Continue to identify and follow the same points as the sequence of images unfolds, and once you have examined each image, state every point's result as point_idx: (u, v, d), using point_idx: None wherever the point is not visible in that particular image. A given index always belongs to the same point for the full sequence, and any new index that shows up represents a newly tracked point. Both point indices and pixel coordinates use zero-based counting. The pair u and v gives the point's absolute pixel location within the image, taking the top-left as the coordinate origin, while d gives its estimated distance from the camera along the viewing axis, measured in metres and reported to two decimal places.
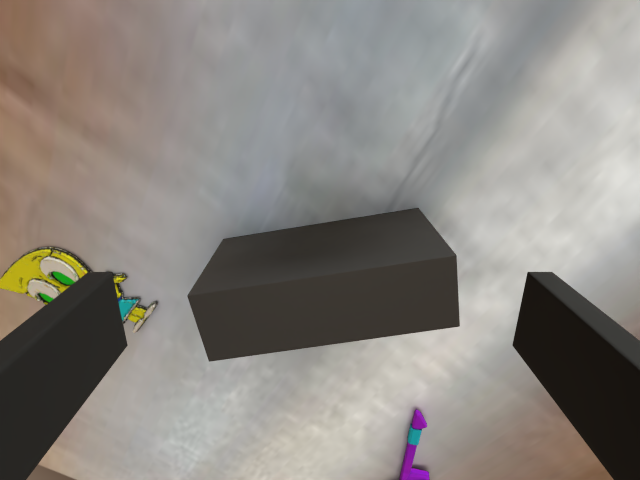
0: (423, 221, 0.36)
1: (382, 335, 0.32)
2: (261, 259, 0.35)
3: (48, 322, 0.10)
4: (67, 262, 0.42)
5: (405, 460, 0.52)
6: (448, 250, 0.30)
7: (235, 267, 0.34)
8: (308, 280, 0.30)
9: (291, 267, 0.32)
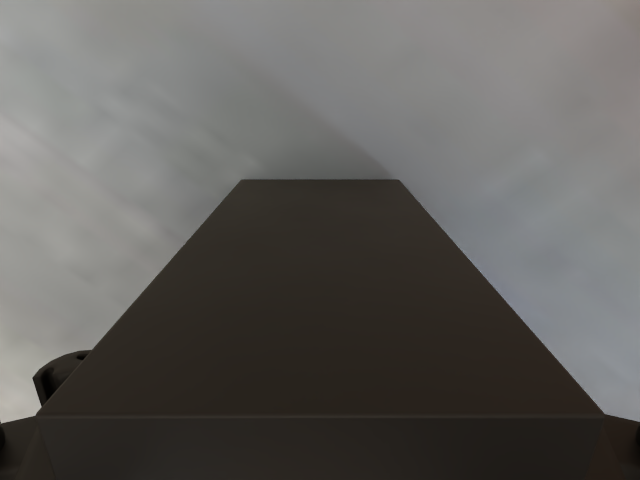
0: None
1: None
2: None
3: None
4: None
5: None
6: None
7: None
8: None
9: None
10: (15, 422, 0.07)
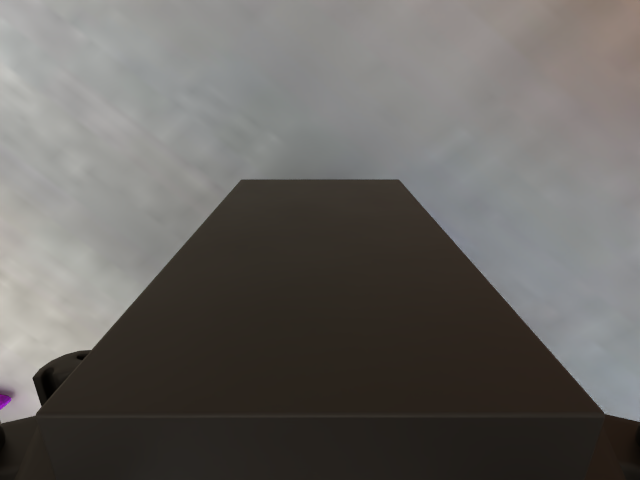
0: None
1: None
2: None
3: None
4: None
5: None
6: None
7: None
8: None
9: None
10: (15, 422, 0.07)
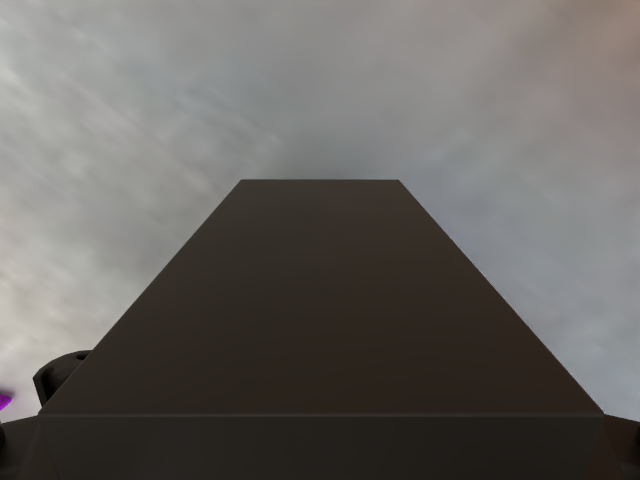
0: None
1: None
2: None
3: None
4: None
5: None
6: None
7: None
8: None
9: None
10: (15, 422, 0.07)
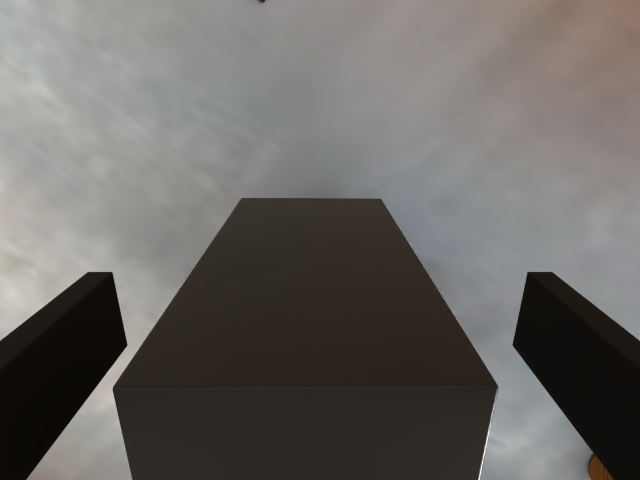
0: None
1: None
2: None
3: (48, 322, 0.10)
4: None
5: None
6: None
7: None
8: None
9: None
10: None
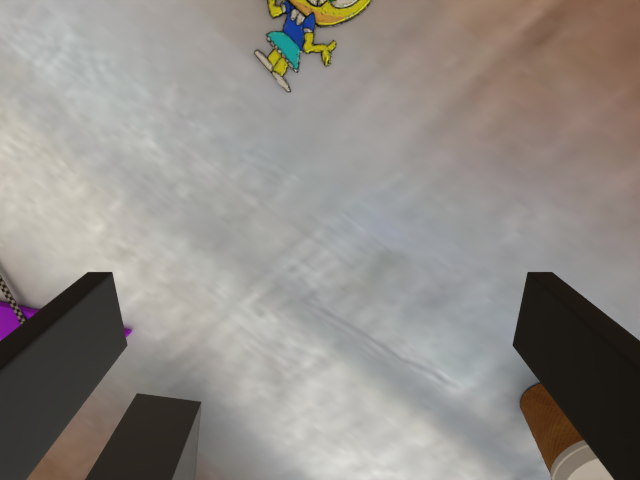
0: None
1: None
2: None
3: (48, 322, 0.10)
4: (357, 0, 0.35)
5: None
6: None
7: None
8: None
9: None
10: None
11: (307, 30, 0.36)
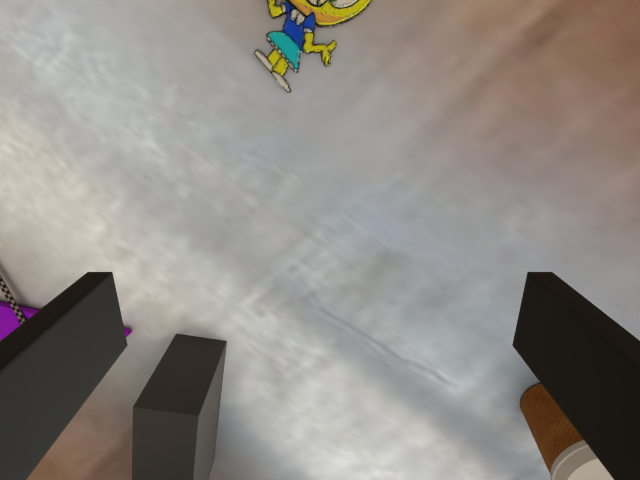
0: None
1: None
2: (208, 416, 0.44)
3: (48, 322, 0.10)
4: (357, 0, 0.35)
5: None
6: None
7: (207, 407, 0.43)
8: None
9: (200, 455, 0.43)
10: None
11: (307, 30, 0.36)
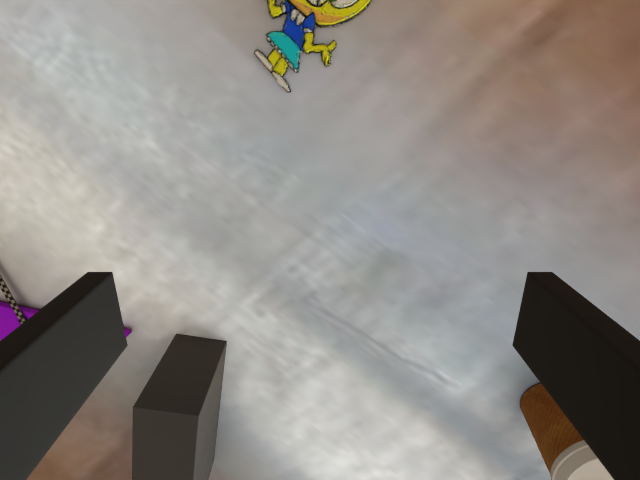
0: None
1: None
2: (208, 416, 0.44)
3: (48, 322, 0.10)
4: (357, 0, 0.35)
5: None
6: None
7: (207, 407, 0.43)
8: None
9: (200, 455, 0.43)
10: None
11: (307, 30, 0.36)
